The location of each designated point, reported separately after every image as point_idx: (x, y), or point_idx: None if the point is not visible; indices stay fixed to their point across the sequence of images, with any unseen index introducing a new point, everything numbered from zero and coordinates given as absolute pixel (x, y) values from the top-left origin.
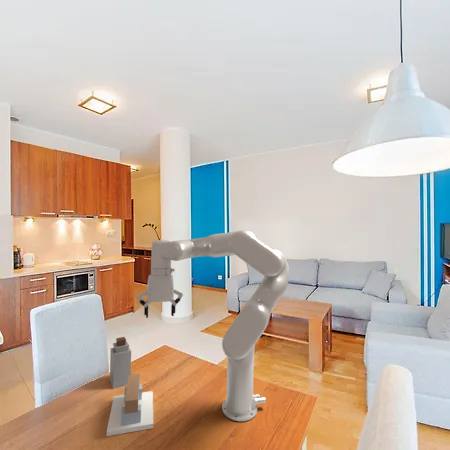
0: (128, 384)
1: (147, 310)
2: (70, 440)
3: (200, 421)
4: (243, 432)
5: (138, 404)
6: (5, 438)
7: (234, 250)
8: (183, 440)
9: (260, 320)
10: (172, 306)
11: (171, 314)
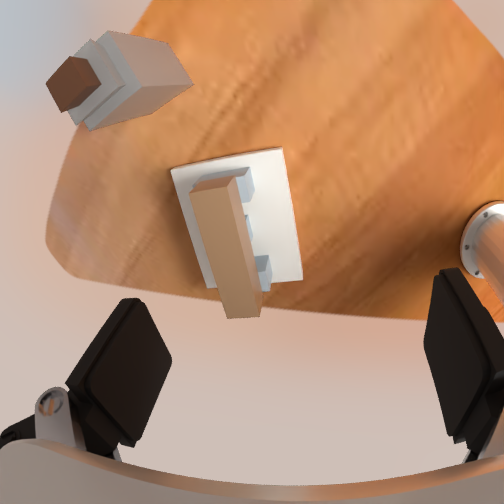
0: (209, 250)
1: (143, 421)
2: (150, 282)
3: (407, 265)
4: None
5: (251, 210)
6: (60, 263)
7: None
8: (364, 307)
9: None
10: (456, 433)
11: (430, 317)
